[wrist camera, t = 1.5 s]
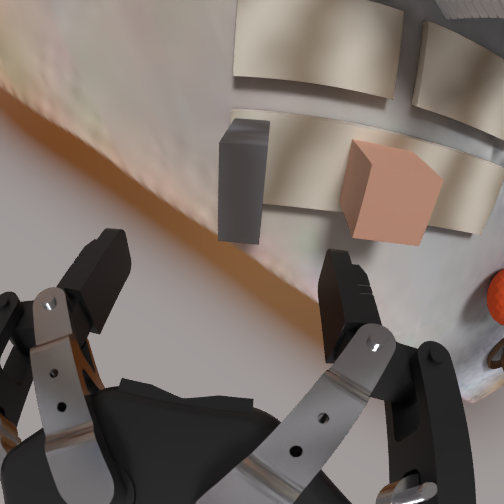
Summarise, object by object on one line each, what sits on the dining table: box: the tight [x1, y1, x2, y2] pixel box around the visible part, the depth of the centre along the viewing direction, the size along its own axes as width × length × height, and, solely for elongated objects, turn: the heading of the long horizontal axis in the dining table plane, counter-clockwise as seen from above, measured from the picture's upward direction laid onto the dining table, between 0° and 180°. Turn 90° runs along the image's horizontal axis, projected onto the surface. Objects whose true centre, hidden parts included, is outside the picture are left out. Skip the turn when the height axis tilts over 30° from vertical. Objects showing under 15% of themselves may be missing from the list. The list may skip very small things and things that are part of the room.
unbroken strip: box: [218, 109, 504, 245], centre depth 18 cm, size 24×7×7 cm, turn 86°
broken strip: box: [233, 0, 504, 140], centre depth 15 cm, size 24×7×1 cm, turn 86°
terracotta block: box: [339, 139, 444, 246], centre depth 18 cm, size 5×5×5 cm
